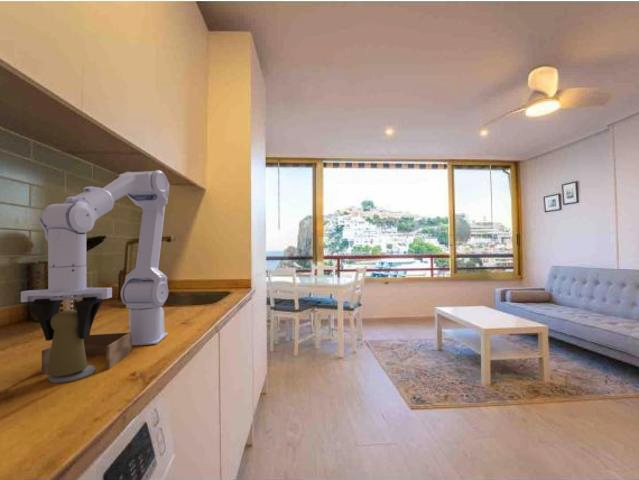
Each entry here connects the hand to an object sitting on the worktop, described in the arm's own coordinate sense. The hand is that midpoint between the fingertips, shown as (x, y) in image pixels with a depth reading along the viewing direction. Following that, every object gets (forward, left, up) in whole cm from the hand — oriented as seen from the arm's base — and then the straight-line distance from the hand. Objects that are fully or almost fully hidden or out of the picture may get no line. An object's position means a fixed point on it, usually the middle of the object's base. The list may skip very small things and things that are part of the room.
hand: (68, 338), depth 60 cm
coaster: (-1, +1, -7) cm, 7 cm away
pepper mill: (0, 0, -6) cm, 6 cm away
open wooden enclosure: (-8, 0, -7) cm, 11 cm away
